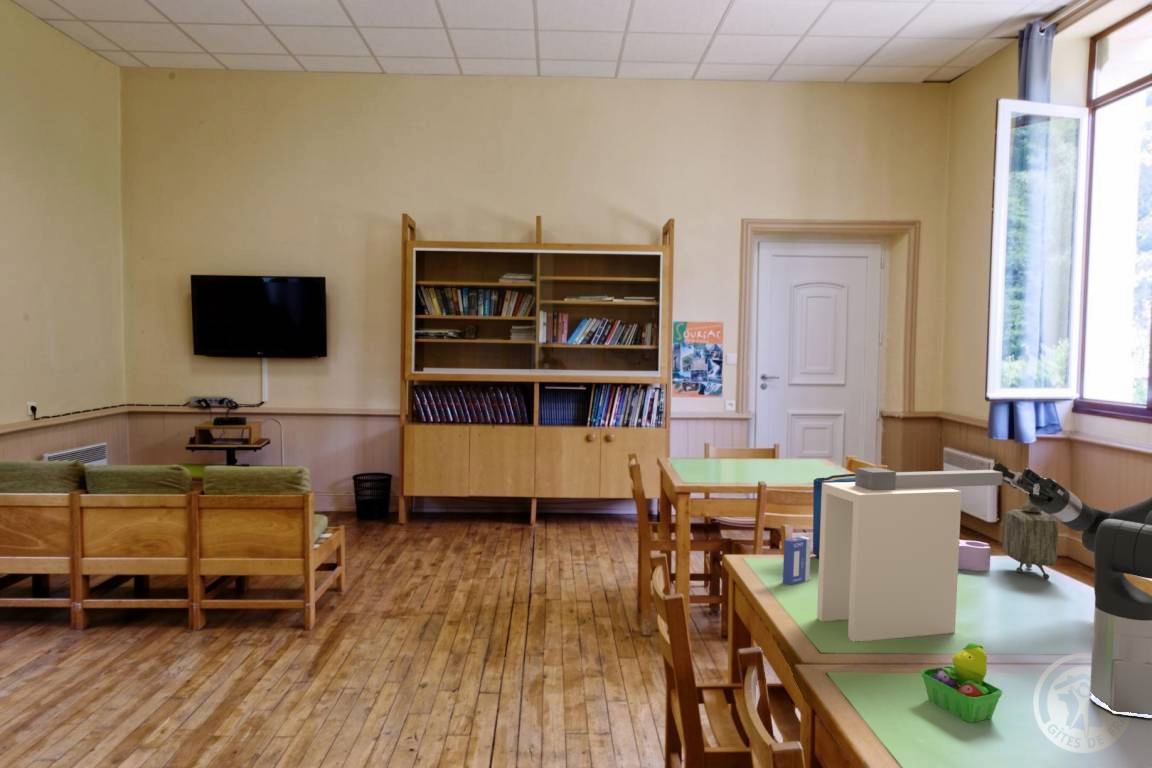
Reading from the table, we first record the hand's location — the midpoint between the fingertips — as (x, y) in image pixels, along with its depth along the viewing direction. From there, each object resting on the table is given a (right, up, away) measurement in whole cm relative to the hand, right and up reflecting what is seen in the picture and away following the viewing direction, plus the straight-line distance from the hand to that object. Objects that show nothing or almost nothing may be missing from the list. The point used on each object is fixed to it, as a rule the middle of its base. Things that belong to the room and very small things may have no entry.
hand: (1009, 468), depth 175 cm
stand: (-32, -35, -6) cm, 48 cm away
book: (-21, -33, +50) cm, 63 cm away
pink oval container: (+9, -34, +44) cm, 56 cm away
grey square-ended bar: (-21, -3, -5) cm, 22 cm away
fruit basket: (-35, -37, -45) cm, 68 cm away
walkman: (-43, -34, +25) cm, 60 cm away
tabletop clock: (+26, -34, +36) cm, 57 cm away
